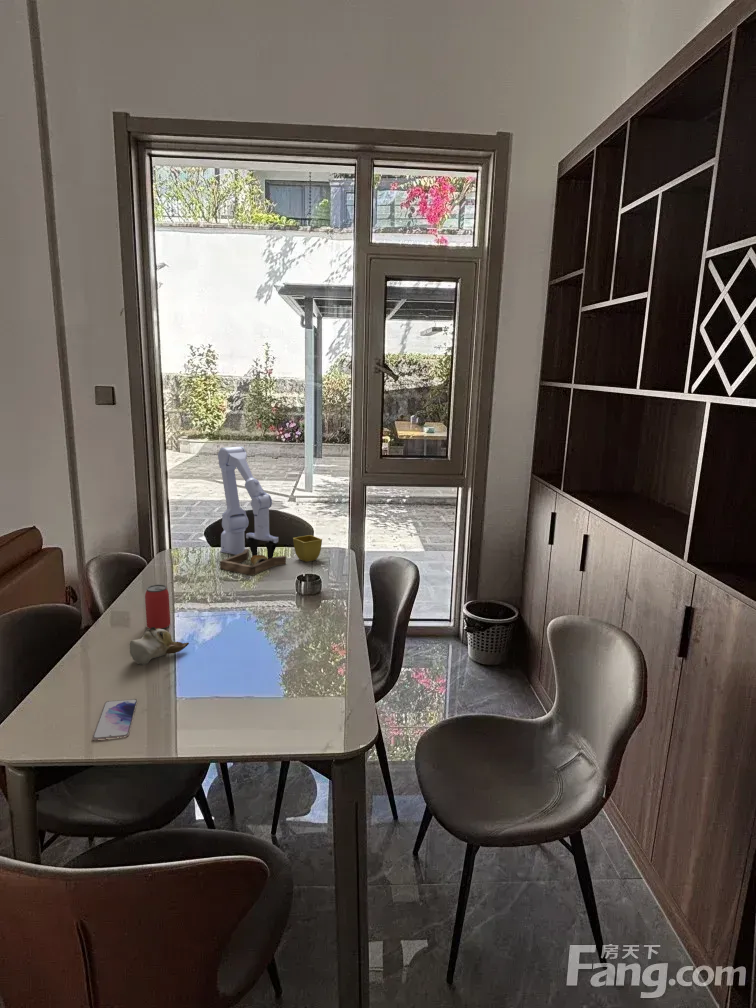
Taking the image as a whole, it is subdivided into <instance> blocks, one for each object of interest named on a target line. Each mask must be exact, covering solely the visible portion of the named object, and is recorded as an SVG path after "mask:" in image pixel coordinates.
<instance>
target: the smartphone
mask: <svg viewBox="0 0 756 1008" xmlns="http://www.w3.org/2000/svg"><path fill="white" fill-rule="evenodd" d="M137 700H138V699H137V698H132V699H121V700H119V699H118V700H107V701H105V702H104V704H103V706H102V710H101V712H100V715H99V718H98V721H97V722H96V727H95V728H94V731H93V735H92V739H93V740H98V739H106V738H117V737H119V739H121V738H120V737H124V736H128V735H129V736H130V734H129V732H131V730H130V728H131V729H132V726H131V724H132V725H133V722H132V720H133V721H134V718H133V715H134V716H135V714H134V710H135V706H136V703H137ZM137 704H138V703H137ZM135 711H136V710H135ZM129 736H128V737H129ZM92 739H91V740H92ZM93 740H92V741H93Z"/></svg>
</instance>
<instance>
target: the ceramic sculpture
mask: <svg viewBox="0 0 756 1008" xmlns="http://www.w3.org/2000/svg"><path fill="white" fill-rule="evenodd" d="M188 645H190V643H189V642H184V643H183V642H181V641H173V640H172V635H171V634H170V632H169V631H167V630H166V629H160V628H157V629H156V628H155V627H152V628H150V629H149V628H147V629H146V630H145V631H144V634H143V635H142V637H141V638H138V639H131V640H130V641H129V653H130V657H131V658H132V660H133V661H134V662H135V664H138V665H147V664H148V663H150V661H151V659H154V658H155V659H156V658H160V657H163V656H166V655H170V654H171V655H172V654H177V653H179V652H181V651H182V650H184V649H185V648H186V647H188Z"/></svg>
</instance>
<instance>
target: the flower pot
mask: <svg viewBox="0 0 756 1008" xmlns="http://www.w3.org/2000/svg"><path fill="white" fill-rule="evenodd" d="M292 540H293V547H294V549H293V550H294V552H295V554H296V556H297V558H298V559H299V560H300V561H302V562H305V563H307V562H312V561H316V560H317V559H318V558H319V557H320V556H319V555H320V554H321V552H322V551H321V550H322V544H323V543H322V542H323V538H319V537H317V536H314V535H311V534H309V535H302V536H297V537H292Z"/></svg>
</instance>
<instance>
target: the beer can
mask: <svg viewBox="0 0 756 1008" xmlns="http://www.w3.org/2000/svg"><path fill="white" fill-rule="evenodd" d="M144 602H145V605H144V606H145V617H146V619H145V620H146V627H147V629H150V628H152V627H155V628H156V629H157V628H160V629H163V630H165V629H166V628H168V627H170V625H171V608H170V593H169V590H168V588H167V586H166V585H165V584H153V585H149V586H147V587H146V590H145V595H144Z"/></svg>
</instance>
